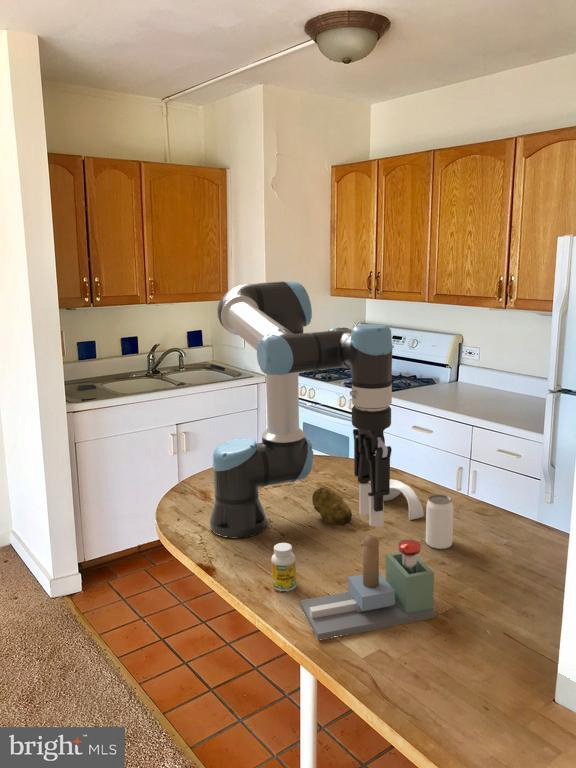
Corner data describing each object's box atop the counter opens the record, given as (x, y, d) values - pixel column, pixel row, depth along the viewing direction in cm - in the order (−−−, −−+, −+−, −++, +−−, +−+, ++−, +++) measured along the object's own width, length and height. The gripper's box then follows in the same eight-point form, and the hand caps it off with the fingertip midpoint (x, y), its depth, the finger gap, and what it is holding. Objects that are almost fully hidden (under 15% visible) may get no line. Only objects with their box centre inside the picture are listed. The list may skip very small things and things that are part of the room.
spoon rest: (355, 493, 191) (355, 471, 190) (389, 486, 196) (389, 464, 194) (399, 524, 170) (400, 499, 169) (435, 515, 175) (436, 491, 173)
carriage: (347, 596, 133) (347, 530, 130) (378, 591, 135) (379, 525, 132) (362, 618, 126) (362, 548, 122) (394, 611, 128) (395, 542, 124)
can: (452, 550, 155) (454, 505, 152) (425, 548, 156) (426, 503, 153) (451, 538, 161) (453, 494, 158) (425, 536, 162) (426, 493, 159)
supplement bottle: (293, 578, 144) (292, 539, 142) (298, 590, 139) (297, 550, 137) (270, 581, 143) (268, 542, 141) (275, 594, 138) (273, 554, 136)
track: (300, 607, 133) (299, 566, 131) (408, 587, 139) (409, 547, 137) (317, 640, 122) (316, 596, 120) (435, 617, 128) (436, 575, 126)
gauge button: (394, 581, 133) (395, 541, 131) (413, 577, 135) (414, 538, 132) (403, 592, 129) (404, 551, 127) (423, 588, 130) (424, 547, 128)
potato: (326, 531, 167) (325, 503, 165) (308, 512, 178) (308, 485, 177) (355, 526, 169) (354, 498, 167) (336, 507, 181) (335, 481, 179)
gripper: (337, 397, 128) (338, 504, 133) (371, 420, 112) (370, 541, 117) (371, 393, 130) (371, 499, 135) (410, 416, 113) (407, 535, 119)
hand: (371, 518), depth 126 cm, fingers open, 4 cm apart
